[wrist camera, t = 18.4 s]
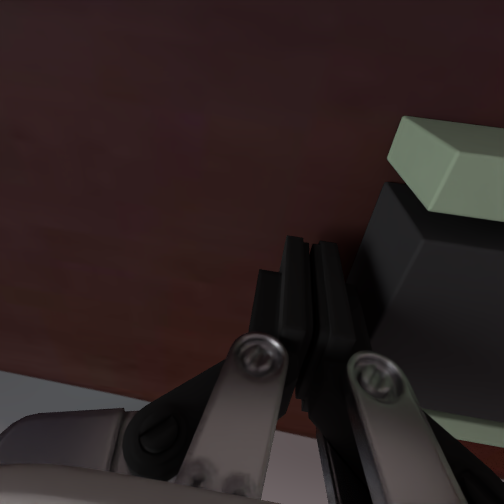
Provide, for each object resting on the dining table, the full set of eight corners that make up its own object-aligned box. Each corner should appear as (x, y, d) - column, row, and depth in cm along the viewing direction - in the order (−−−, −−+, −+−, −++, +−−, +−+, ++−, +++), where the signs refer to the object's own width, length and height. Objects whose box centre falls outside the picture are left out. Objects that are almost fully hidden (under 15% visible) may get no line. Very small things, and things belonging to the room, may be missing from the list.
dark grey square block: (330, 318, 13) (340, 394, 10) (384, 180, 9) (422, 239, 6) (479, 343, 13) (532, 429, 10) (597, 211, 9) (737, 287, 6)
